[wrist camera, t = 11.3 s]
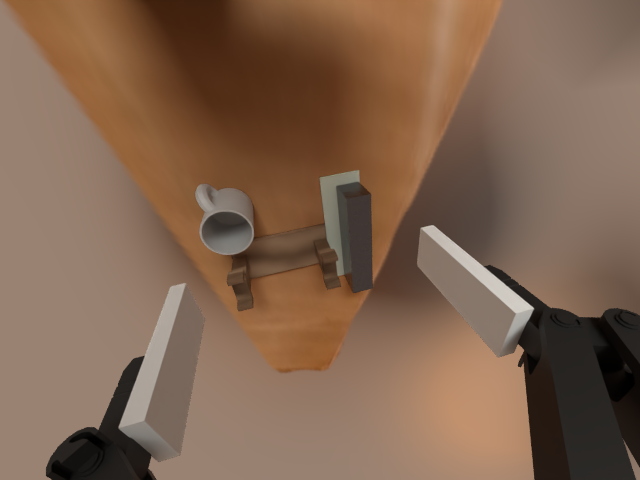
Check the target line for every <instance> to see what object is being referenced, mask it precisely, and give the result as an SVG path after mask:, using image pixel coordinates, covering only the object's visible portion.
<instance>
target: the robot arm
mask: <svg viewBox="0 0 640 480" xmlns="http://www.w3.org/2000/svg"><path fill="white" fill-rule="evenodd" d="M417 266H418V267H419V268H420V269H421V270H422V271H423V273H424V274H425V275H426V276H427V277H428V278H429V279H430V281H431V282H432V283H433V284H434V285H435V286H436V287H437V289H438V290H439V291H440V292H441V293H442V294H443V295H444V297H445V298H446V299H447V300H448V301H449V302H450V303H451V305H453V307H454V308H455V309H456V310H457V311H458V312H459V314H460V315H461V316H462V317H463V318H464V319H465V320H466V321H467V323H468V324H469V325H470V326H471V327H472V328H473V330H474V331H475V332H476V333H477V334H478V335H479V336H480V338H482V340H483V341H484V342H485V343H486V344H487V345H488V347H489V348H490V349H491V350H492V351H493V352H494V353H495V355H496V356H497V357H502V356H505V355H508V354H511V353H514V351H515V349H516V347H517V345H518V344H519V345H520V346H521V347H522V348H523V349H524V352H523V354H522V356H521V358H520V361H519V363H518V367H521V366H522V364H523V362H524V373H525V383H526V394H527V403H528V414H529V425H530V436H531V447H532V457H533V469H534V479H535V480H636V478H635V475H634V472H633V469H632V466H631V463H630V459H629V457H628V453H627V450H626V447H625V444H624V441H625V443H626V445H627V446H628V448H629V450H630V451H631V453H632V455H633V457H634V458H635V460H636V462H637V464H638V465H639V467H640V316H639V315H638V314H636V313H633V312H630V311H627V310H623V309H618V308H616V309H615V308H614V309H608V310H606V311H605V312H604V313H603V315H602V316H601V318H595V317H594V318H593V317H591V318H590V317H578V316H577V315H575V314H573V313H571V312H569V311H566V310H563V309H557V308H550V307H548V306H547V305H546V304H544V303H543V302H542V301H540V300H539V299H538V298H537V297H535V296H534V295H533V294H531V293H530V292H529V291H528V290H526V289H525V288H524V287H522V286H521V285H519V284H518V283H517V282H516V281H515V280H513V279H511V277H510V276H508V275H507V274H506V273H504V272H503V271H502V270H500V269H497V268H495V267H493V266H491V265H488V266H484V267H483V266H482V265H481V264H480V263H478V262H477V261H476V260H475V259H473V258H472V257H471V256H470V255H469V254H467V253H466V252H465V251H464V250H462V249H461V248H460V247H459V246H458V245H456V244H455V243H454V242H453V241H452V240H450V239H449V238H448V237H447V236H445V235H444V234H443V233H442V232H440V231H439V230H438V229H437V228H436V227H435V226H433V225H432V226H427V227H423V228H421V229H420V239H419V250H418V260H417ZM204 321H205V318H204V316H203V314H202V312H201V310H200V308H199V306H198V305H197V303H196V301H195V299H194V297H193V295H192V293H191V291H190V289H189V288H188V286H187V284H186V283H184V284H179V285H175V286H171V287H170V290H169V292H168V295H167V298H166V301H165V303H164V306H163V309H162V312H161V314H160V317H159V319H158V322H157V325H156V328H155V330H154V333H153V336H152V339H151V341H150V344H149V346H148V349H147V352H146V355H145V356H142V357H138V358H134V359H133V360H132V361H131V362H130V364H129V365H128V366H127V367H126V369H125V370H124V371H123V373H122V376H121V378H120V380H119V383H118V387H117V388H116V390H115V392H114V395H113V396H114V397H113V398H112V399H111V402H110V404H109V407H108V409H107V411H106V414H105V416H104V418H103V420H102V423H101V425H100V428H99V430H97V429H96V428H94V427H87V428H84V429H81V430H79V431H77V432H75V433H74V434H72V435H71V436H69V437H68V438H67V439H66V440H65V441H64V442H63V443H62V444H61V445H60V446H59V447H58V448H57V449H56V451H55V452H54V453H53V455H52V456H51V458H50V460H49V462H48V465H47V467H46V476H47V477H49V478H51V479H52V480H156V478H155V476H154V475H153V473H152V472H151V471H150V470H149V469H148V467H149V463H150V459H151V456H152V457H153V458H154V459H156V460H157V461H158V462H160V461H163V460H167V459H170V458H173V457H177V456H180V454H181V449H182V443H183V438H184V432H185V427H186V421H187V416H188V410H189V405H190V399H191V394H192V388H193V383H194V377H195V371H196V366H197V360H198V355H199V349H200V344H201V338H202V333H203V327H204ZM623 439H624V441H623Z"/></svg>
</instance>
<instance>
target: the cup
mask: <svg viewBox="0 0 640 480" xmlns="http://www.w3.org/2000/svg"><path fill="white" fill-rule="evenodd" d="M195 196H196V200H197V202H198V204H199V205H200V207H201V208H202V209H203V210H204V211H205V213H204V216H203V219H202V222H201V225H200V230H199V232H200V238H201V240H202V242H203V243H204V244H205V246H206V247H207V248H209V249H210V250H212V251H213V252H216V253H218V254H223V255H233V254H237V253H240V252H242V251H244V250H245V249H247V248H248V247H249V246H250V244H251V243H252V241H253V238H254V216H253V205H252V202H251V200H250V198H249V197H248V196H247V195H246V194H245V193H244V192H242V191H240V190H238V189H235V188H224V189H220V190H218V191H217V190H216V189H215V188H213V187H212V186H211V185H209V184H201V185H199V186H198V188H197V190H196V192H195ZM209 198H210V199H209Z"/></svg>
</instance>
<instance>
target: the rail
mask: <svg viewBox="0 0 640 480" xmlns="http://www.w3.org/2000/svg"><path fill="white" fill-rule="evenodd" d="M336 191H337V202H338V213H339V224H340V235H341V245H342V256H343V267H344V275H345V277H346V279H347V281H348V283H349V285H350V288H351V290H352V292H353V293H356V292H360V291H364V290H368V289H371V288H373V283H372V224H371V193H369V192H368V191H367V190H366V189H365V188H364V187H363V186H362V185H361V184H360V183H359V182H353V183H348V184H343V185H338V186H336Z"/></svg>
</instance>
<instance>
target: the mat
mask: <svg viewBox="0 0 640 480" xmlns="http://www.w3.org/2000/svg"><path fill="white" fill-rule="evenodd" d="M319 180H320V189H321V197H322V205H323V213H324V222H325V230H326V238H327V241H328V243H329V246H330V248H331V249H334V250H335V252H336V254H337V256H338V261H336V266H337V276H340V275H344V267H343V256H342V245H341V235H340V224H339V213H338V202H337V191H336V186H338V185H343V184H348V183H353V182H359V183H360V178H359V170H356V171H350V172H345V173H340V174H335V175H329V176H324V177H319Z"/></svg>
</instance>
